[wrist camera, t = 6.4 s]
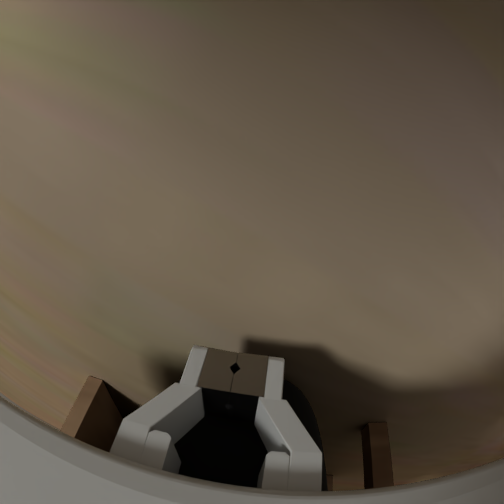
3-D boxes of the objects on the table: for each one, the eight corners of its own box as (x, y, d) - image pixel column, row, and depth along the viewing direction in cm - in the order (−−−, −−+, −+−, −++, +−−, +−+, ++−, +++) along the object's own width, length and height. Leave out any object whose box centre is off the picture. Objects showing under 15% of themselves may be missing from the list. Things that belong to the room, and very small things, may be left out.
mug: (161, 315, 11) (63, 570, 2) (370, 374, 11) (376, 601, 3) (151, 422, 18) (112, 545, 9) (273, 454, 18) (256, 576, 10)
